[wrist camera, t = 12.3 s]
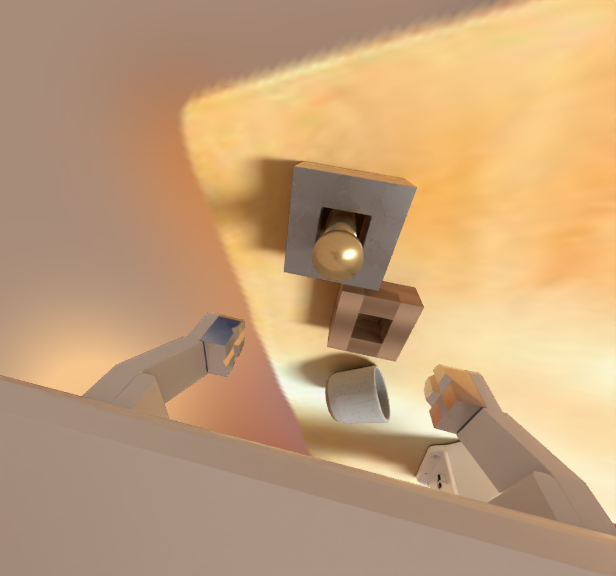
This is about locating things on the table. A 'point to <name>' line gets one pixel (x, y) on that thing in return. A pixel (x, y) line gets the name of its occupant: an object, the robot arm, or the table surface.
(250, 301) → the table surface
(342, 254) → the pin
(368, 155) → the table surface
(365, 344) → the mount
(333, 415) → the ceramic mug
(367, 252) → the socket
